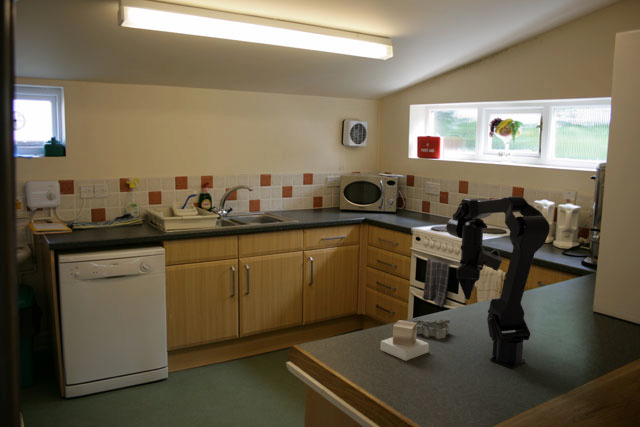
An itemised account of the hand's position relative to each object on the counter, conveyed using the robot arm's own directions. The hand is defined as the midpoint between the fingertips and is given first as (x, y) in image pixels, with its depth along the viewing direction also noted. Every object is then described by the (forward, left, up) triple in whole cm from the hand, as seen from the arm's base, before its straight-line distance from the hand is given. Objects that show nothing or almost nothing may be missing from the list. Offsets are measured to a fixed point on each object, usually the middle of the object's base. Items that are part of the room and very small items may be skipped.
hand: (469, 294), depth 155 cm
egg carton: (+8, +8, -12) cm, 17 cm away
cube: (+3, +24, -10) cm, 26 cm away
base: (+3, +24, -12) cm, 27 cm away
